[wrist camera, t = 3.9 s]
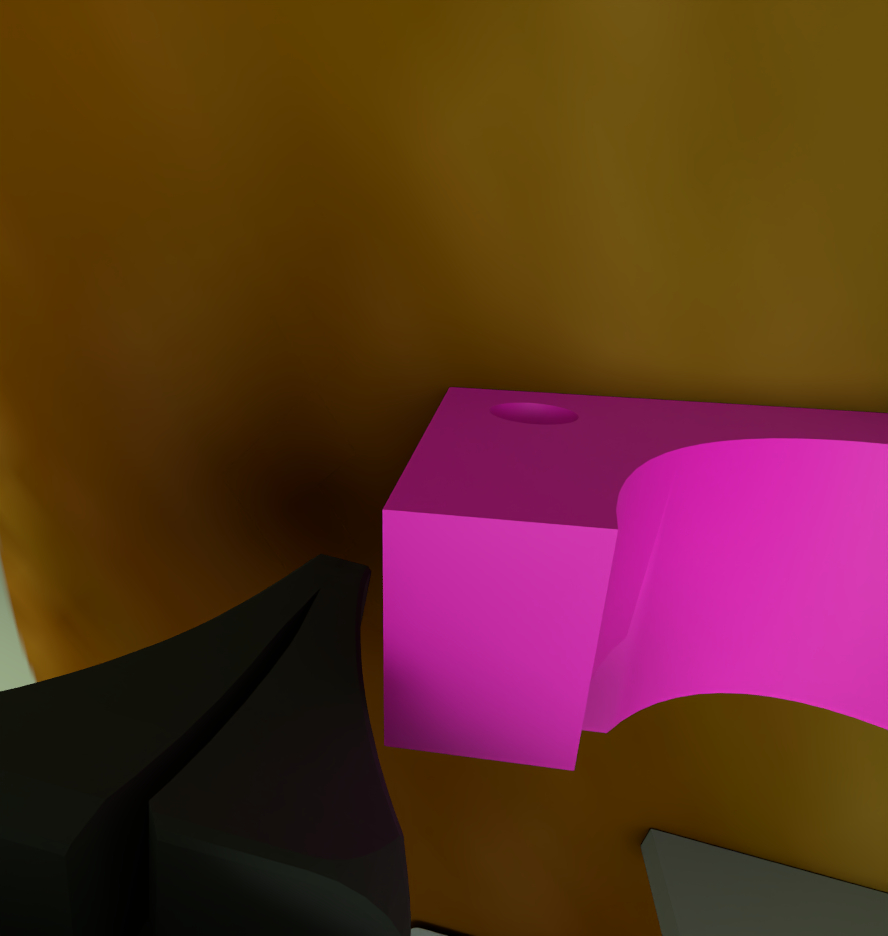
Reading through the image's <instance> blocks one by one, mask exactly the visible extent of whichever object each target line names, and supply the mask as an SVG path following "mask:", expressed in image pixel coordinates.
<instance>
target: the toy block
mask: <svg viewBox="0 0 888 936" xmlns="http://www.w3.org/2000/svg"><path fill="white" fill-rule="evenodd" d="M382 511H383V638H384V746H390V747H398V748H405V749H413V750H420V751H428V752H436V753H443V754H451V755H458V756H466V757H474V758H481V759H489V760H496V761H504V762H511V763H519V764H527V765H534V766H542V767H549V768H557V769H564V770H572V771H574V768H575V763H576V757H577V752H578V746H579V741H580V735H581V730H586V731H595V732H603V733H607V732H608V731H610V730H611V729H612V728H613V727H615V726H616V725H617V724H618V723H620V722H621V721H622V720H624V719H625V718H627V717H629V716H630V715H632V714H634V713H636V712H637V711H639V710H641V709H644V708H646V707H648V706H651V705H653V704H656V703H658V702H662V701H666V700H669V699H673V698H676V697H682V696H689V695H695V694H707V693H742V694H753V695H761V696H770V697H775V698H781V699H786V700H792V701H797V702H801V703H805V704H809V705H813V706H817V707H821V708H825V709H828V710H831V711H835V712H838V713H841V714H844V715H848V716H851V717H854V718H857V719H860V720H862V721H865V722H868V723H871V724H873V725H876V726H879V727H882V728H884V729H887V730H888V413H875V412H858V411H841V410H824V409H808V408H791V407H774V406H758V405H741V404H724V403H708V402H691V401H674V400H658V399H641V398H624V397H608V396H591V395H574V394H557V393H541V392H524V391H507V390H491V389H474V388H457V387H449V389H448V391H447V393H446V395H445V396H444V398H443V400H442V402H441V404H440V406H439V407H438V409H437V411H436V413H435V415H434V416H433V418H432V420H431V422H430V424H429V426H428V427H427V429H426V431H425V433H424V435H423V437H422V438H421V440H420V442H419V444H418V446H417V447H416V449H415V451H414V453H413V455H412V457H411V458H410V460H409V462H408V464H407V466H406V468H405V469H404V471H403V473H402V475H401V477H400V478H399V480H398V482H397V484H396V486H395V488H394V489H393V491H392V493H391V495H390V497H389V499H388V500H387V502H386V504H385V506H384V508H383V509H382Z"/></svg>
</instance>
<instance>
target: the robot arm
mask: <svg viewBox="0 0 888 936" xmlns="http://www.w3.org/2000/svg"><path fill="white" fill-rule="evenodd" d="M370 576H371V570H370V569H369V567H368V566H366V565H362V564H358V563H354V562H350V561H346V560H343V559H339V558H335V557H331V556H327V555H323V554H320V555H318V556H316V557H315V558H313V559H312V560H310V561H309V562H307V563H306V564H304V565H303V566H301V567H300V568H298V569H297V570H295V571H294V572H292V573H291V574H289V575H287V576H286V577H284V578H283V579H281V580H280V581H278V582H277V583H275V584H273V585H272V586H270V587H268V588H267V589H265V590H263V591H262V592H260V593H259V594H257V595H255V596H254V597H252V598H250V599H249V600H247V601H245V602H243V603H241V604H239V605H238V606H236V607H234V608H232V609H230V610H228V611H227V612H225V613H223V614H221V615H219V616H217V617H215V618H214V619H212V620H210V621H207V622H205V623H203V624H201V625H199V626H197V627H195V628H193V629H190V630H188V631H186V632H184V633H181V634H179V635H177V636H174V637H172V638H170V639H167V640H165V641H163V642H160V643H157V644H155V645H152V646H149V647H146V648H144V649H141V650H138V651H135V652H133V653H130V654H127V655H125V656H122V657H119V658H116V659H114V660H111V661H108V662H105V663H102V664H99V665H96V666H92V667H89V668H86V669H83V670H79V671H76V672H73V673H69V674H66V675H62V676H59V677H55V678H52V679H48V680H45V681H41V682H37V683H34V684H30V685H26V686H22V687H18V688H14V689H10V690H5V691H1V692H0V936H447V935H444V934H440V933H437V932H433V931H430V930H426V929H423V928H412V929H411V914H410V897H409V885H408V874H407V865H406V857H405V848H404V836H403V833H402V830H401V828H400V825H399V822H398V819H397V817H396V814H395V811H394V808H393V805H392V802H391V799H390V796H389V793H388V790H387V787H386V783H385V780H384V777H383V773H382V770H381V766H380V763H379V759H378V755H377V751H376V746H375V742H374V738H373V733H372V729H371V725H370V720H369V715H368V709H367V704H366V698H365V690H364V683H363V674H362V663H361V644H360V626H361V621H362V616H363V611H364V606H365V601H366V596H367V591H368V586H369V581H370Z"/></svg>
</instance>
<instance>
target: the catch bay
mask: <svg viewBox="0 0 888 936" xmlns="http://www.w3.org/2000/svg"><path fill="white" fill-rule="evenodd" d="M641 850H642V854H643V858H644V862H645V866H646V870H647V874H648V878H649V883H650V887H651V891H652V895H653V899H654V903H655V907H656V911H657V915H658V919H659V923H660V928H661V932H662V936H888V894H887V893H883V892H880V891H876V890H872V889H869V888H865V887H861V886H858V885H854V884H850V883H847V882H843V881H839V880H836V879H832V878H829V877H825V876H821V875H818V874H814V873H810V872H807V871H803V870H799V869H796V868H792V867H789V866H785V865H781V864H778V863H774V862H770V861H767V860H763V859H759V858H756V857H752V856H749V855H745V854H741V853H738V852H734V851H730V850H727V849H723V848H719V847H716V846H712V845H709V844H705V843H701V842H698V841H694V840H690V839H687V838H683V837H679V836H676V835H672V834H669V833H665V832H661V831H658V830H654V829H650V831H649V833H648V835H647V836H646V838H645V840H644V841H643V843H642V845H641Z"/></svg>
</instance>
